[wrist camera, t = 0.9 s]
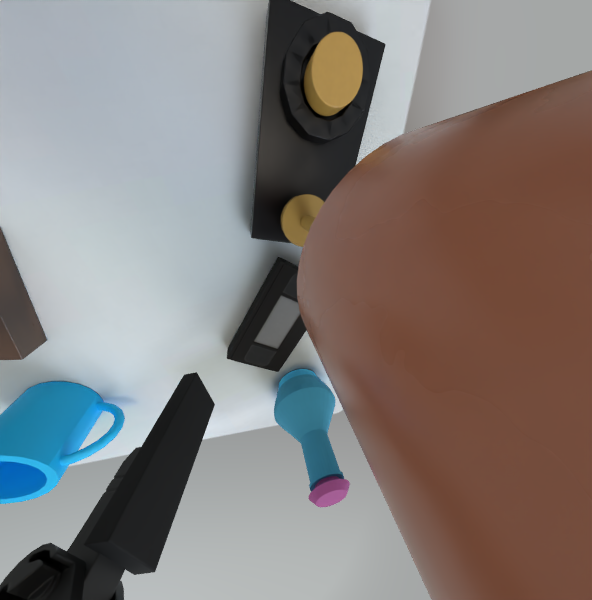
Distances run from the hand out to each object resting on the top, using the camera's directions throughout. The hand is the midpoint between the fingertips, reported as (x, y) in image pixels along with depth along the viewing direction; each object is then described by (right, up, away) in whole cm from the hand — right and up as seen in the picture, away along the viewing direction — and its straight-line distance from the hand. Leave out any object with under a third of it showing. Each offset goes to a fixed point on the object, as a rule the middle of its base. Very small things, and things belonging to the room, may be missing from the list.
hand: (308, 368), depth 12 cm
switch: (+2, +20, +3) cm, 20 cm away
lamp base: (0, +18, +8) cm, 20 cm away
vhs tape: (-3, +2, +16) cm, 17 cm away
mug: (-28, -9, +15) cm, 34 cm away
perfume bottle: (0, -10, +23) cm, 25 cm away
